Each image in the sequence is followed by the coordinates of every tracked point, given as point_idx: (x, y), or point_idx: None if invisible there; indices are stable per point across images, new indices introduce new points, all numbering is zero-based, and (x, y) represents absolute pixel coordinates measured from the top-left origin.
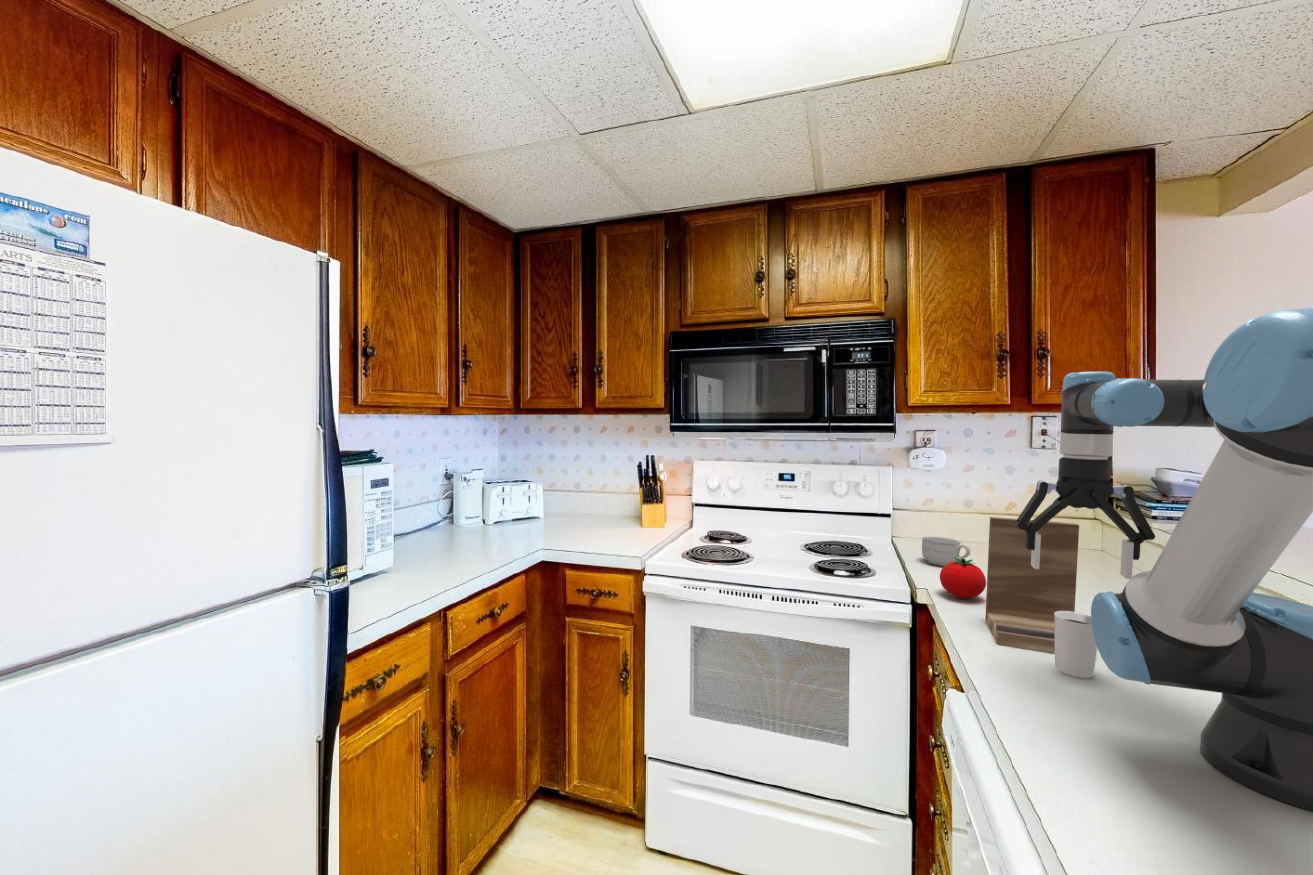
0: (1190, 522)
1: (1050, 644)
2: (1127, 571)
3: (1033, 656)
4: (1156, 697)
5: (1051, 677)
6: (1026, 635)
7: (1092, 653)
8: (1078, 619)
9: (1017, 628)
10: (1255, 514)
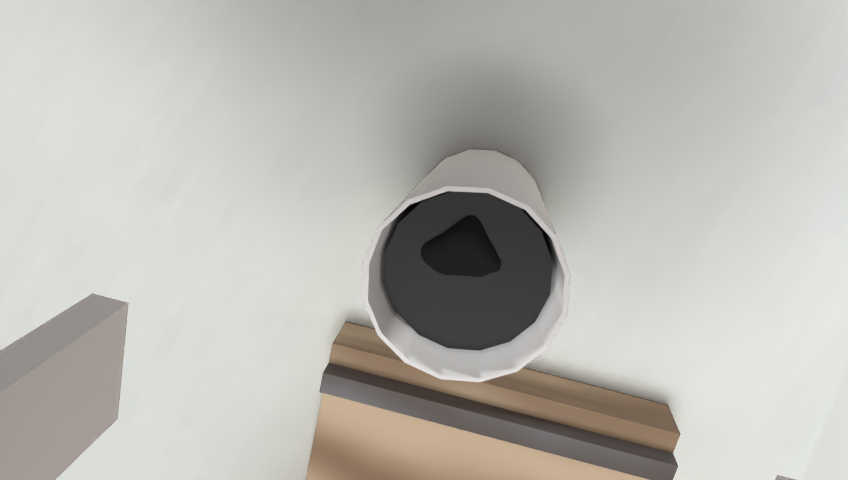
0: None
1: None
2: (85, 327)
3: (574, 313)
4: (291, 35)
5: (610, 129)
6: (563, 417)
7: (439, 170)
8: (415, 343)
9: (594, 448)
10: None
